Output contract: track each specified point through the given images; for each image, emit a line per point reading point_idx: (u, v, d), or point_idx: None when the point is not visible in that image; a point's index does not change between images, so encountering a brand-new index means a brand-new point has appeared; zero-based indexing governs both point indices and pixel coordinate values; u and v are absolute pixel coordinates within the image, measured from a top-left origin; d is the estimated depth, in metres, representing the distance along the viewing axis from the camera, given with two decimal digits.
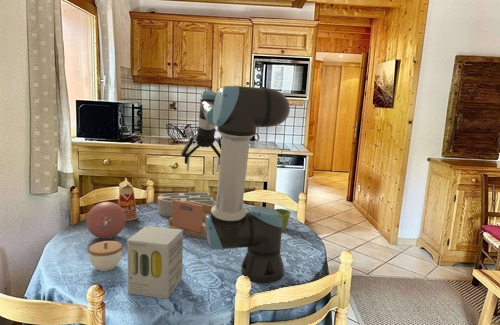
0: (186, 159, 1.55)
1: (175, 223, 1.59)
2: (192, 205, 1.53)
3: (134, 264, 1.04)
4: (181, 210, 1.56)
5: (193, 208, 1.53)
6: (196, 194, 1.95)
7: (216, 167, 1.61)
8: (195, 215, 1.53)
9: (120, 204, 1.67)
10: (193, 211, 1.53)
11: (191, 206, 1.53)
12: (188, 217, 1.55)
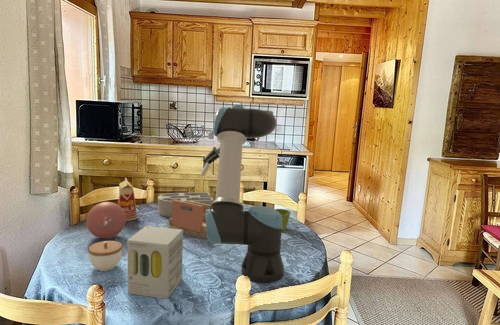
0: None
1: (175, 223, 1.59)
2: (192, 205, 1.53)
3: (134, 264, 1.04)
4: (181, 210, 1.56)
5: (193, 208, 1.53)
6: (196, 194, 1.95)
7: None
8: (195, 215, 1.53)
9: (120, 204, 1.67)
10: (193, 211, 1.53)
11: (191, 206, 1.53)
12: (188, 217, 1.55)
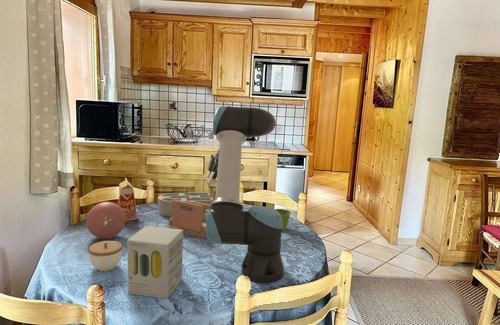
0: (210, 173, 1.72)
1: (175, 223, 1.59)
2: (192, 205, 1.53)
3: (134, 264, 1.04)
4: (181, 210, 1.56)
5: (193, 208, 1.53)
6: (196, 194, 1.95)
7: None
8: (195, 215, 1.53)
9: (120, 204, 1.67)
10: (193, 211, 1.53)
11: (191, 206, 1.53)
12: (188, 217, 1.55)
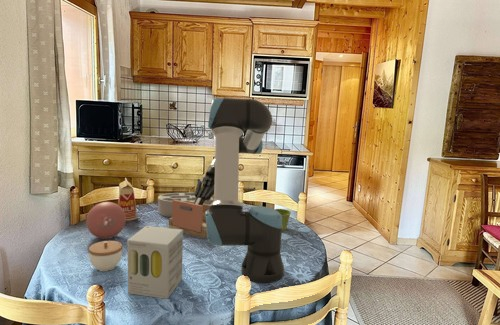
0: (196, 199, 1.63)
1: (175, 223, 1.59)
2: (192, 205, 1.53)
3: (134, 264, 1.04)
4: (181, 210, 1.56)
5: (193, 208, 1.53)
6: None
7: None
8: (195, 215, 1.53)
9: (120, 204, 1.67)
10: (193, 211, 1.53)
11: (191, 206, 1.53)
12: (188, 217, 1.55)
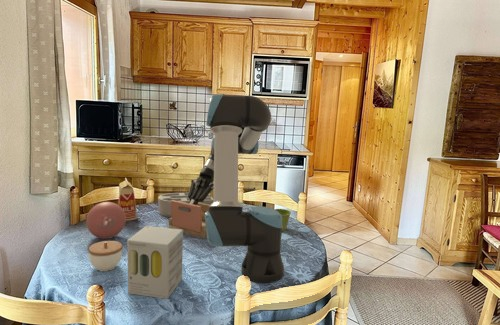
0: (190, 201, 1.59)
1: (175, 223, 1.58)
2: (190, 206, 1.52)
3: (134, 264, 1.04)
4: (180, 211, 1.55)
5: (191, 209, 1.52)
6: None
7: None
8: (194, 216, 1.52)
9: (120, 204, 1.67)
10: (192, 212, 1.52)
11: (189, 207, 1.52)
12: (187, 217, 1.54)
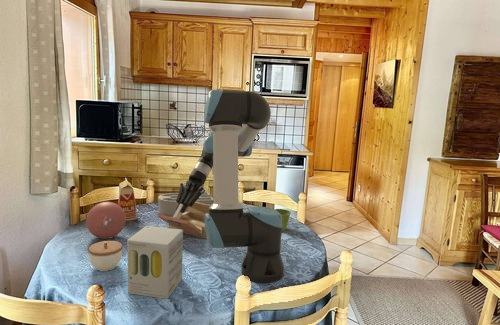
0: (178, 206, 1.52)
1: (173, 225, 1.58)
2: (178, 221, 1.45)
3: (134, 264, 1.04)
4: None
5: (180, 223, 1.46)
6: None
7: None
8: (186, 226, 1.48)
9: (120, 204, 1.67)
10: (182, 224, 1.47)
11: (178, 222, 1.46)
12: (181, 225, 1.51)
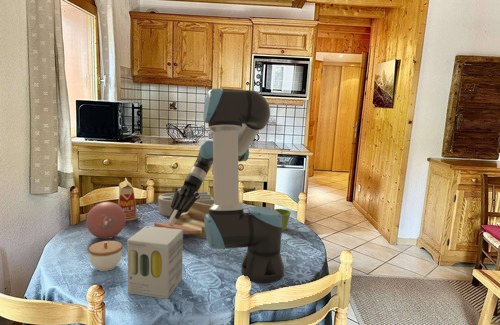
0: None
1: None
2: None
3: (134, 264, 1.04)
4: None
5: None
6: None
7: None
8: None
9: (120, 204, 1.67)
10: None
11: None
12: None
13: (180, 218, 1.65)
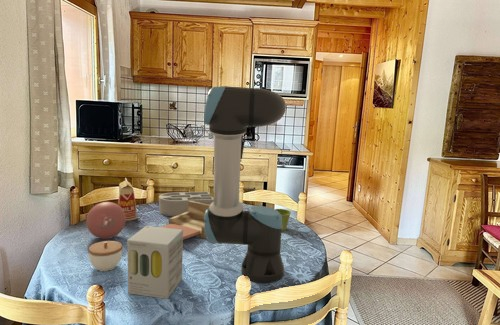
0: None
1: None
2: None
3: (134, 264, 1.04)
4: None
5: None
6: (196, 193, 1.97)
7: None
8: None
9: (120, 204, 1.67)
10: None
11: None
12: None
13: (180, 218, 1.65)
